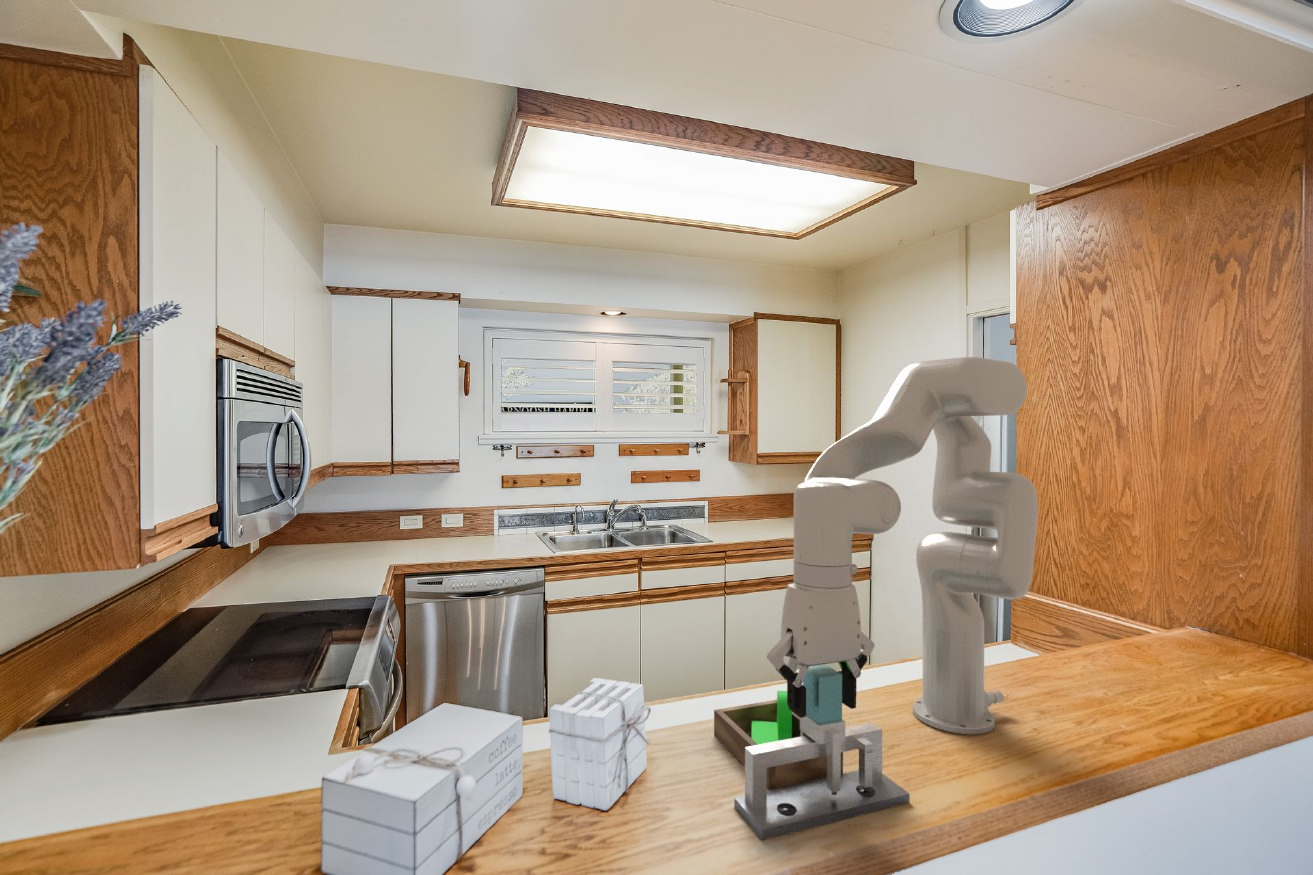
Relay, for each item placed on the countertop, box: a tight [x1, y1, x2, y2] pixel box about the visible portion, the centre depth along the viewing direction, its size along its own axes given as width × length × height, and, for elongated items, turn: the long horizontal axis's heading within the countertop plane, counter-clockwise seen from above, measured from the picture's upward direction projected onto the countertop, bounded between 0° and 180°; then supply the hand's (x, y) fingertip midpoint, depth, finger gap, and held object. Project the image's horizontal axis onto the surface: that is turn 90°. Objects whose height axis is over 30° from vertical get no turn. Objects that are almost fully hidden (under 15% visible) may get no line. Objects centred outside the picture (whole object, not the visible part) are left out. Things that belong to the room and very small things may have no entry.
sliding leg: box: [800, 664, 846, 795], centre depth 81 cm, size 4×5×15 cm
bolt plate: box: [733, 769, 911, 841], centre depth 80 cm, size 22×7×1 cm, turn 110°
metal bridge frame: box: [744, 722, 883, 809], centre depth 80 cm, size 20×4×8 cm, turn 110°
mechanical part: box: [750, 690, 792, 745], centre depth 92 cm, size 12×6×8 cm, turn 171°
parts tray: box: [713, 699, 844, 790], centre depth 93 cm, size 12×17×4 cm
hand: (822, 707), depth 81 cm, fingers open, 7 cm apart
